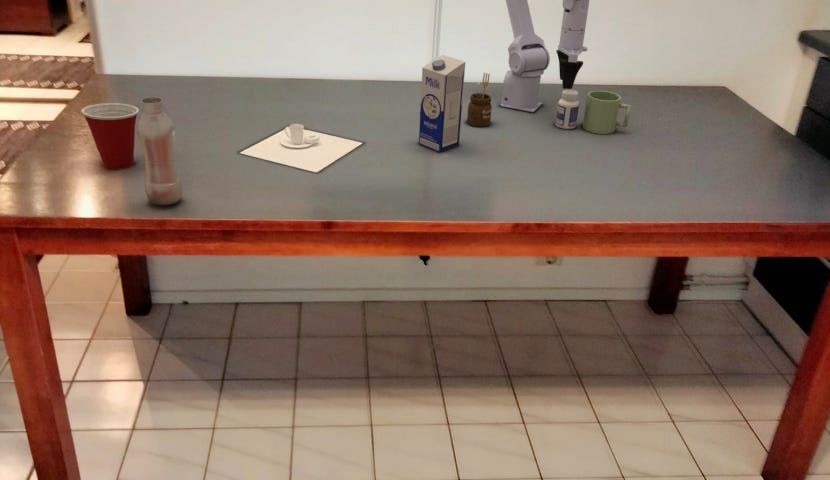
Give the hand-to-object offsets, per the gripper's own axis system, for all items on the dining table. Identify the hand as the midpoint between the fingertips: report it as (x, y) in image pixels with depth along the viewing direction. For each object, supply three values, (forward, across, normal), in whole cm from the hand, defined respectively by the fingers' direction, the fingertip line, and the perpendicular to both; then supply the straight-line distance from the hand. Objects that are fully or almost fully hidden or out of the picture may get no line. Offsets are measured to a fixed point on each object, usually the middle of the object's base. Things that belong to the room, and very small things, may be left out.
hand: (565, 84), depth 190 cm
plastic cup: (+10, -44, +96) cm, 107 cm away
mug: (+11, -1, -11) cm, 15 cm away
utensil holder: (+10, -4, +21) cm, 24 cm away
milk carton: (+11, -20, +30) cm, 38 cm away
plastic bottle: (+11, -60, +81) cm, 101 cm away
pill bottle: (+11, -1, -1) cm, 11 cm away
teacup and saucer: (+10, -28, +61) cm, 68 cm away
